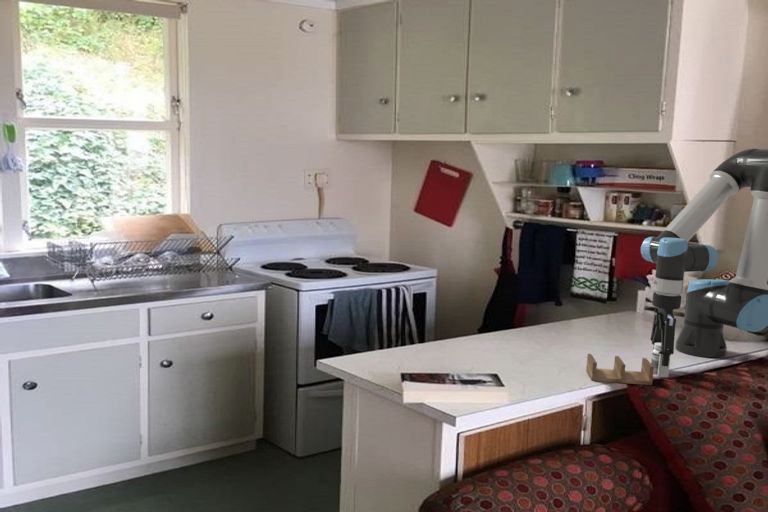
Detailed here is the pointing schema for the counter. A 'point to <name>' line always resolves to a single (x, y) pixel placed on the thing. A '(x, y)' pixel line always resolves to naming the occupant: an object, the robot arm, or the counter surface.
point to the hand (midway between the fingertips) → (658, 371)
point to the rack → (620, 372)
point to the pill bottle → (656, 357)
